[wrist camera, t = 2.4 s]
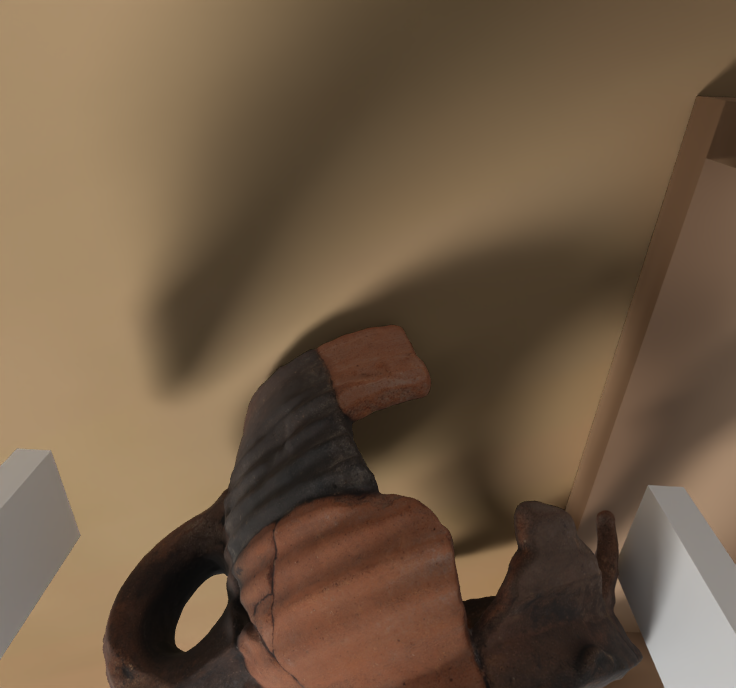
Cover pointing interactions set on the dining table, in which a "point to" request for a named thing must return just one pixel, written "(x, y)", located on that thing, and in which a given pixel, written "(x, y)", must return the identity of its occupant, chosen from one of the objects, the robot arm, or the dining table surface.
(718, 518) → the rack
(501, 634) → the pottery mug
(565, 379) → the dining table surface
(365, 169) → the dining table surface
